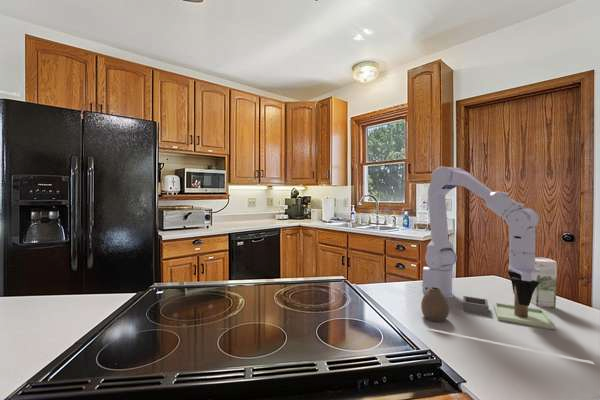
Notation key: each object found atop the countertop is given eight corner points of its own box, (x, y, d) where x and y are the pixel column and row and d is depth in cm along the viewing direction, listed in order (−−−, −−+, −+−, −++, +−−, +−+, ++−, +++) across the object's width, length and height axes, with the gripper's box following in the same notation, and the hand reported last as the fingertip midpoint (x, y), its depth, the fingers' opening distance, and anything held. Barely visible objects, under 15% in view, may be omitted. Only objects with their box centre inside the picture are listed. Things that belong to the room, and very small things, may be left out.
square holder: (463, 312, 86) (463, 302, 86) (463, 305, 91) (463, 295, 91) (488, 316, 83) (488, 306, 83) (486, 309, 88) (486, 299, 88)
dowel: (515, 316, 81) (515, 287, 81) (513, 312, 84) (513, 284, 83) (528, 318, 79) (529, 289, 79) (526, 314, 82) (526, 286, 82)
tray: (497, 321, 79) (497, 315, 79) (493, 307, 90) (493, 302, 90) (555, 331, 73) (555, 325, 73) (543, 315, 84) (543, 309, 84)
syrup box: (542, 301, 95) (543, 256, 95) (556, 308, 89) (557, 260, 89) (523, 300, 95) (524, 256, 95) (536, 307, 89) (537, 260, 89)
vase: (452, 326, 76) (452, 293, 76) (424, 324, 78) (424, 291, 77) (444, 316, 83) (445, 285, 83) (418, 314, 84) (419, 283, 84)
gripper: (547, 258, 73) (546, 312, 73) (534, 249, 86) (533, 295, 86) (512, 255, 76) (511, 306, 77) (505, 246, 89) (504, 291, 89)
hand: (521, 300), depth 81 cm, fingers open, 7 cm apart
